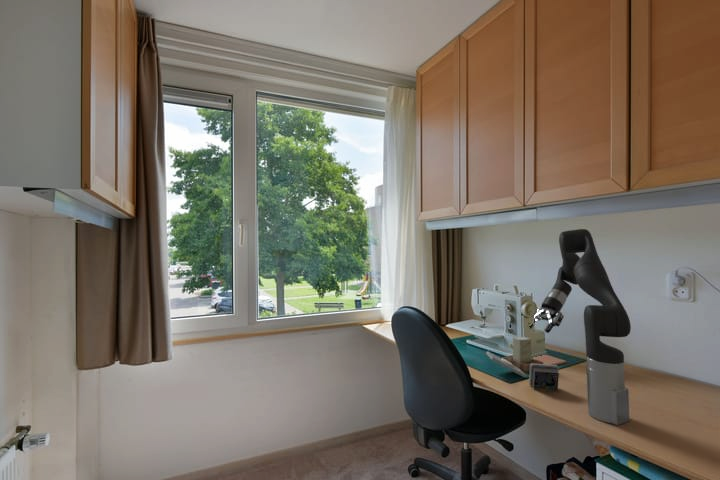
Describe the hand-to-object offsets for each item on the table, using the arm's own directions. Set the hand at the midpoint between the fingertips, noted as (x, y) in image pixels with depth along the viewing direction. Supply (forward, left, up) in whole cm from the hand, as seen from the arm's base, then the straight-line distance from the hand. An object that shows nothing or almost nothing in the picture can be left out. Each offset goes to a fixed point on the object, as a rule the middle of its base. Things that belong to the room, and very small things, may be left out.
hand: (537, 329), depth 148 cm
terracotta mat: (+1, -5, -15) cm, 16 cm away
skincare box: (0, +10, -15) cm, 18 cm away
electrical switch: (-20, +22, -15) cm, 33 cm away
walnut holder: (0, +10, -15) cm, 18 cm away
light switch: (-3, +22, -15) cm, 27 cm away
